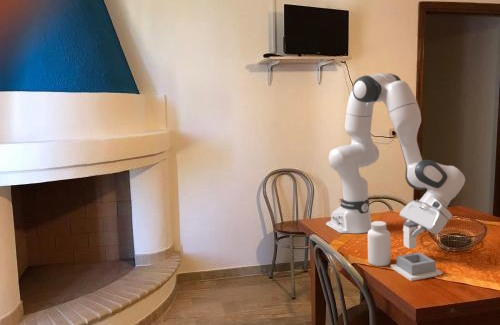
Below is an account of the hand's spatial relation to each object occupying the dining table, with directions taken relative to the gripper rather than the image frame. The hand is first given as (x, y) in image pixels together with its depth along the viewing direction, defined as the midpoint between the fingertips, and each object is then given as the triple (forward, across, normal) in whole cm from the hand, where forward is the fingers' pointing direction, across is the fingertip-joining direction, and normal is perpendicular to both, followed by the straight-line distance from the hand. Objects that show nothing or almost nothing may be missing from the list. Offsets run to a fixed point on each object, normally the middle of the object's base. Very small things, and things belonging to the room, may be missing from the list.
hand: (408, 234), depth 160 cm
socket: (+10, +11, +3) cm, 15 cm away
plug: (+3, 0, +4) cm, 5 cm away
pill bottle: (+15, 0, -2) cm, 15 cm away
